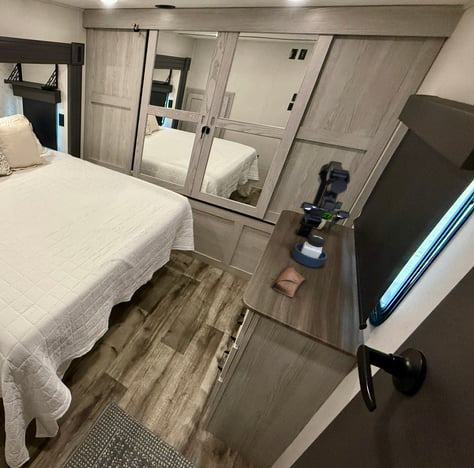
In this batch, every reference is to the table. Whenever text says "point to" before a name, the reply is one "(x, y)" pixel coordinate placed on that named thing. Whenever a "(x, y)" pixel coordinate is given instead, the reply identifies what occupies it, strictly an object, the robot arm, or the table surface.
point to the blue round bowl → (306, 259)
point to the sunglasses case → (288, 282)
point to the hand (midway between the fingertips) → (316, 227)
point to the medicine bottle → (313, 247)
